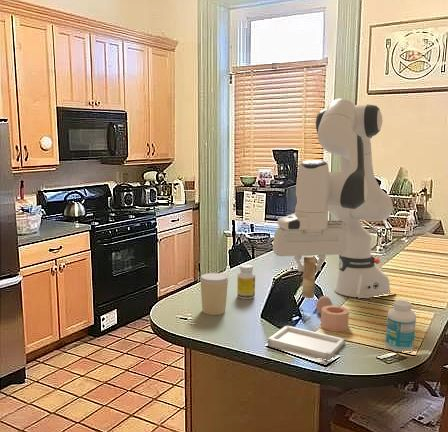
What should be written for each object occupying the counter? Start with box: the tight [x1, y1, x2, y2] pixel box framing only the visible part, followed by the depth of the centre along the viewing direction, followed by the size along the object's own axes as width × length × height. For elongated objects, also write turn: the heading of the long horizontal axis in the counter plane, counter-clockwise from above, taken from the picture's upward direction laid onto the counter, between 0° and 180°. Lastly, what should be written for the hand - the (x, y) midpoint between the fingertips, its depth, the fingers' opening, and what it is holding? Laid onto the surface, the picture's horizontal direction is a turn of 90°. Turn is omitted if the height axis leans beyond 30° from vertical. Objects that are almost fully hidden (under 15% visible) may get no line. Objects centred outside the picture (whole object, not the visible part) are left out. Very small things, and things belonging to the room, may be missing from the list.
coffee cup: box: [199, 272, 229, 316], centre depth 166 cm, size 9×9×12 cm
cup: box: [320, 304, 350, 332], centre depth 153 cm, size 8×8×6 cm
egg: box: [315, 295, 333, 316], centre depth 163 cm, size 5×5×7 cm
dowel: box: [301, 255, 317, 299], centre depth 137 cm, size 3×3×11 cm
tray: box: [267, 324, 346, 360], centre depth 140 cm, size 18×12×2 cm, turn 57°
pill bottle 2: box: [385, 299, 417, 352], centre depth 138 cm, size 8×7×14 cm
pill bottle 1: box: [236, 264, 256, 300], centre depth 182 cm, size 6×6×12 cm
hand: (309, 270), depth 137 cm, fingers closed on dowel, 3 cm apart
